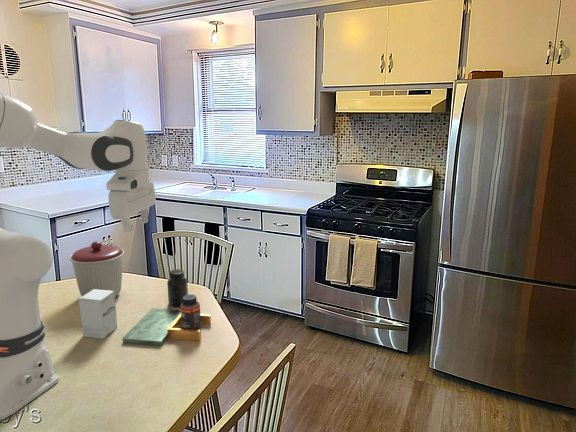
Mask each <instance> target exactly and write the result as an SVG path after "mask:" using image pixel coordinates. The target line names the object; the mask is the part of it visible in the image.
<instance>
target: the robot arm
mask: <svg viewBox="0 0 576 432" xmlns="http://www.w3.org/2000/svg"><path fill="white" fill-rule="evenodd" d="M0 148H6V149H7V148H8V149H16V150H17V149H19V150H20V149H23V148H29V149H33V150H37V151H39V152H43V153H46V154H50V155H52V156H55V157H56V158H59V160H61V161H62V162H63V163H65V164H66V165H67V166H69V167H70V168H73V169H76V170H90V171H98V172H99V171H100V172H111V171H114V172H115V173H114V174H113V175H112V177H111V178H110V179H109V180H108V181H107V182H106V186H105V187H106V189H107V191H109V192H108V199H107V200H108V207H109V213H110V214H109V215H110V216H111V218H112V219H114V220H120V222H121V225H122V226H123V231H124V232H125V233H130V232H131V231H133V229H134V228H133V224H131V222H130V220H131V216H134V215H136V214H138V213H139V212H140V213H141V214H140V217H139V222H140V224H147V223H148V222H149V218H148V217H149V213H150V207H152V206H154V205H155V204H156V201H157V197H156V192H155V191H156V190H155V186H154V183H153V181H152V179H151V178H150V169H149V165H148V162H147V160H148V159H147V158H148V157H147V156H148V143H147V135H146V132H145V129H144V126H143V125H142V124H141V123H140V122H137V121H133V120H126V119H117V120H114V121H113V122H112V124H111V125H110V126H109V127H107V128H106V129H104V130H101V131H100V132H98V133H91V132H83V131H69V132H64V131H60V130H57V129H54V128H52V127H50V126H46V125H44V124H42V123H38V119H37V116H36V113H35V112H34V110H33V109H32V107H31V106H29V105H28V104H26V103H24V102H23V101H21V100H19V99H17V98H14V97H13V96H11V95H8V94H5V93H2V92H0ZM53 260H54V255H53V251H52V249H51V247H50V246H49V245H48V244H47V243H46V242H44V241H43V240H42V239H41V240H40V239H39V238H37V237H35V236H33V235H30V234H25V233H19V232H15V231H9V230H6V229H4V228H1V227H0V421H1V420H5V418H6V417H8V416H9V417H11V416H12V415H13V414H15V413H17V411H19V410H21V409H22V408H24V407H25V406H26V405H27V404H29V403H30V402H32V401H33V400H34V399H36V398H38V397H39V396H40V395H42V394H43V393H44V392H46V391H47V390H49V389H50V388H51V387H53V386H54V385H56V384H57V383H58V382H59V379H60V378H59V376H58V375H57V373H56V367H55V366H54V364H53V361H52V359H51V358H52V357H51V354H50V351H49V348H48V346H47V344H46V341H45V336H46V334H45V327H44V323H43V321H42V320H41V313H40V305H39V289H40V284H41V280H42V278H44V277H46V275H47V274H48V273H49V271H50V270H51V267H52V265H53V262H54V261H53ZM10 415H11V416H10ZM9 417H8V418H9ZM6 419H7V418H6Z"/></svg>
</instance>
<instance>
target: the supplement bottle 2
mask: <svg viewBox="0 0 576 432" xmlns="http://www.w3.org/2000/svg"><path fill="white" fill-rule="evenodd" d="M179 308H180V309H179V310H181V324H182V325H181V329H193V330H200V331H201V330H202V324H201V316H200V314H201V305H200V302H199V301H197V295H196V294H191V293H188V295H185V296H184V297H183V303H182V304H181V306H180V307H179Z"/></svg>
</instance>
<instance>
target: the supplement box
mask: <svg viewBox="0 0 576 432" xmlns="http://www.w3.org/2000/svg"><path fill="white" fill-rule="evenodd" d="M78 305H79V311H80V312H79V313H80V314H79V315H80V322H81V330H82V331H81V332H82V337H86V338H87V337H88V338H95V339H103V340H105V338H106V337H107V336H108V335H110V334H111V333H112V332H113V331H114V330H116V329H117V328H118V320H117V311H116V310H117V307H116V297H115V296H114V291H110V290H98V289H93V290H92V291H90V292H89V293H87V294H85V295H84V296H80V297H79V298H78Z"/></svg>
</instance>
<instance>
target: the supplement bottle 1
mask: <svg viewBox="0 0 576 432" xmlns="http://www.w3.org/2000/svg"><path fill="white" fill-rule="evenodd" d="M166 284H167V297H168V305H170V307H173V308H174V307H175V308H180V306H181V304H182V303H183V297H184V296H185V295H189V288H188V279H187V278H186V277H185V272H184V269H179V268H176V269H171V270H170V271H169V279H167V283H166Z"/></svg>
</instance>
